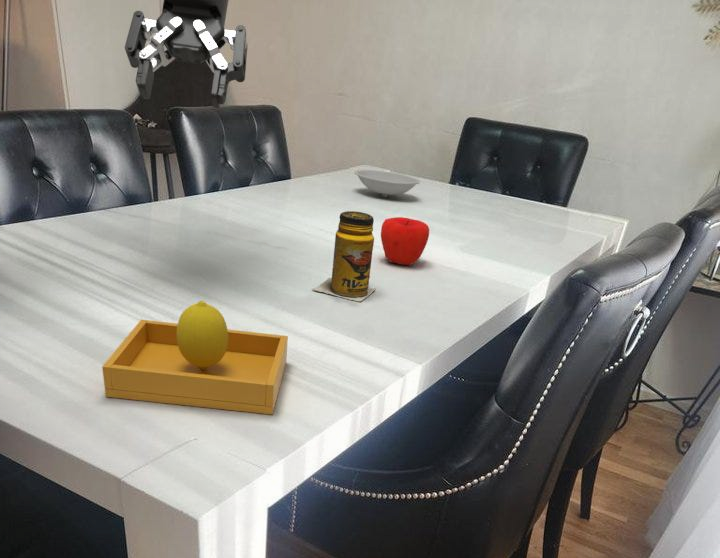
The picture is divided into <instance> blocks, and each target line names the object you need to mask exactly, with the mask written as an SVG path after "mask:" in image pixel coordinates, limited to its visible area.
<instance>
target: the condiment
mask: <svg viewBox="0 0 720 558" xmlns="http://www.w3.org/2000/svg"><path fill="white" fill-rule="evenodd" d="M374 219H375V218H374V217H373V215H371V214H369V213H367V212H362V211H356V210H355V211H354V210H352V211H351V210H347V211H343V212H341V213H340V214H339V222H338V225H337V230H336V232H335V236H334V247H333V258H332V259H333V260H332V271H331V277H328V278H327V279H325V280H324V281H323V282H322V283H320V284H319V285H317V286H315V287H314V288H312V289H311V291H316V292H319V293H324V294H327V295H328V294H329V295H332V296H335V297H338V298H343V299H347V300H350V301H355V302H362V301H363V300H365V299H366V298H368V297H369V296H370V295H371V294H372V293H373V292H374V291H375V290H377V288H374V287H369V286H370V278H371V275H370V274H371V269H372V259H373V251H374V244H375V236H374V234H373V231H374V223H375V222H374Z"/></svg>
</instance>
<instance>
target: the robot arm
mask: <svg viewBox="0 0 720 558" xmlns="http://www.w3.org/2000/svg"><path fill="white" fill-rule="evenodd" d="M228 6H229V0H163V2H162V9H161V14H160V15H159V16H158V17H157V19H151V18H148V17H145V15H144V12H143V11H142V10H135V11H134V12H133V14H132V18H131V22H130V25H129V30H128V34H127V37H126V41H125V45H124V50H125V53H126V56H127V59H128V61H129V62H128V63H129V65H130V67H131V68H134V69H137V71H136V76H135V83H136V87H137V90H138V93H139V94H141V96H142V98H143V99H144V100H150V99H151V94H152V90H153V84H154V78H155V73H154V72H156V71H157V70H158V69H159V68H161V67H167V66H168V65H169V64H170V63H172V62H174V61H176V62H182V63H183V62H190V63H193V64H198V65H202V63H204V62H206V65H207V66H208V68H209V69H210V70H211V72H212V73H213V79H212V85H211V91H210V100H211V105H212V108H213V109H218V110H219V109H220V108H221V105H225V102H226V99H227V94H228V88H229V87H228V86H229V84H230V82H232V81H236V82H237V83H243V82H244V81H245V80H246V70H247V58H248V37H247V30H246V27H245V26H244V25H242V24H238V25H237V26H236V27H235V30H232V29H231V30H230V29H225V26H226V25H225V24H226V17H227V12H228ZM152 35H153V36H152ZM147 42H149V44H147V45H146V43H147ZM226 44H229V47H230V50H231V51H233V56H232V62H227V60H226V59H225V58H224V56H223V55H222V54H221V51H220V50H221V49H222V48H223V47H224V46H225V45H226Z"/></svg>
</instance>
